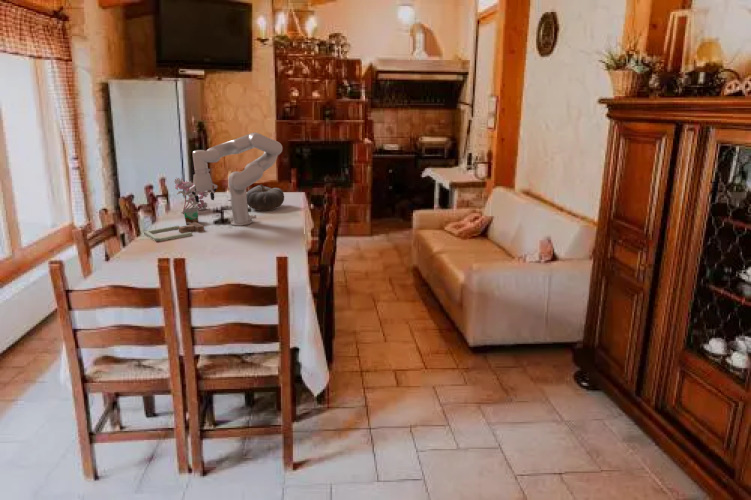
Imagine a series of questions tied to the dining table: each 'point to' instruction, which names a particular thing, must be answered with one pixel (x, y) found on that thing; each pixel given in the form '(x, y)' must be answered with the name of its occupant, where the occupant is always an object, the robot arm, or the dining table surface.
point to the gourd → (265, 198)
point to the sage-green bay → (166, 236)
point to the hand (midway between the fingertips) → (205, 200)
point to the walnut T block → (191, 228)
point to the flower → (190, 194)
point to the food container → (191, 214)
